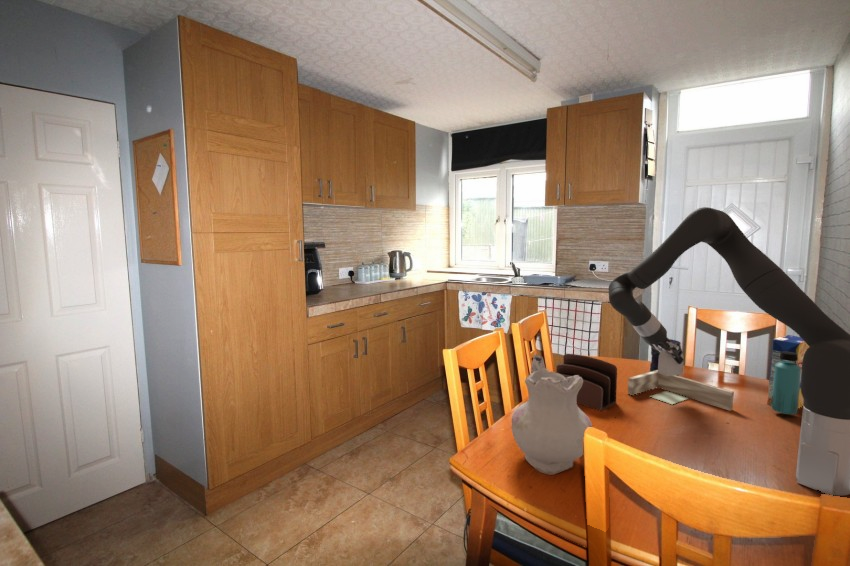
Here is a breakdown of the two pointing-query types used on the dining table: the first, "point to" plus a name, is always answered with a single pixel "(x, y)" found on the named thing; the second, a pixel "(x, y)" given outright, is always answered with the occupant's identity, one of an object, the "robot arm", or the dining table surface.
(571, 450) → the ceramic pitcher
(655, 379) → the beige l-shaped piece
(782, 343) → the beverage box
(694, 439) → the dining table surface
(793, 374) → the beverage bottle
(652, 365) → the storage jar
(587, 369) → the letter holder
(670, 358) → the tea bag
